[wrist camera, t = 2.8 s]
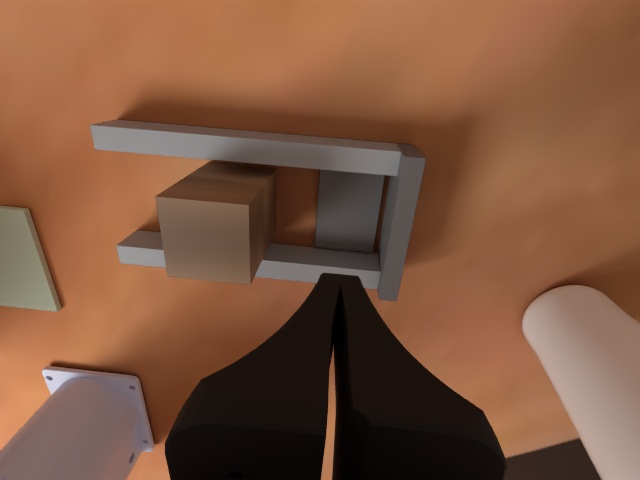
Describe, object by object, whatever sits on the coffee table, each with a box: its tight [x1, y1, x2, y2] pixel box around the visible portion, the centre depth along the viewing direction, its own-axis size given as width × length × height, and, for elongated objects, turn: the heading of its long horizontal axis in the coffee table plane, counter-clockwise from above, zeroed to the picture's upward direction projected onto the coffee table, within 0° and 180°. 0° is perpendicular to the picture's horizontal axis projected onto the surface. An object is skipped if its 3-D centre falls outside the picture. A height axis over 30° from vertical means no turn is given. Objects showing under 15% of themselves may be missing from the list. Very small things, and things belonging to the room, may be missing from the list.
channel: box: [90, 119, 426, 301], centre depth 19 cm, size 8×16×3 cm, turn 86°
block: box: [155, 163, 276, 285], centre depth 18 cm, size 4×4×6 cm
